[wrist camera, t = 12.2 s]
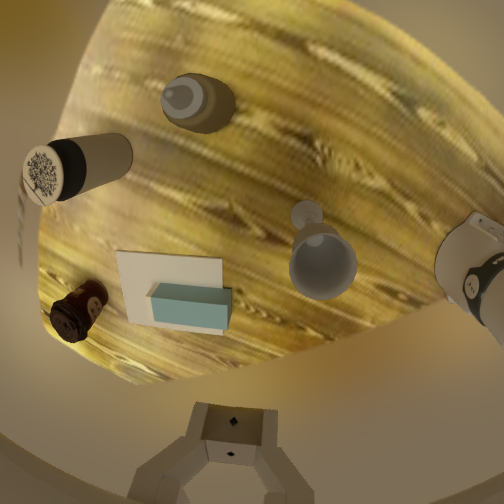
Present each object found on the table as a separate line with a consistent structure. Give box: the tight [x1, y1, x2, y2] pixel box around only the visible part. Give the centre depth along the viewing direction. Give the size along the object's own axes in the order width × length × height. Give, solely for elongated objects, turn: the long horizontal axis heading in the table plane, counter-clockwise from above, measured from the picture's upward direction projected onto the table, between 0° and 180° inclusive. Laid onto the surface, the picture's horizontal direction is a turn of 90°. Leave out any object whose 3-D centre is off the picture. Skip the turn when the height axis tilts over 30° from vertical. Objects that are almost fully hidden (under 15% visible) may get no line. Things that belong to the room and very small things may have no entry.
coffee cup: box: [50, 279, 108, 343], centre depth 48 cm, size 9×8×13 cm
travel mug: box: [23, 133, 132, 206], centre depth 34 cm, size 8×8×18 cm
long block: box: [145, 282, 232, 330], centre depth 49 cm, size 5×5×14 cm
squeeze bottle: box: [161, 73, 236, 134], centre depth 31 cm, size 8×8×18 cm
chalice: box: [289, 200, 357, 300], centre depth 36 cm, size 7×7×18 cm
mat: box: [115, 250, 224, 335], centre depth 52 cm, size 20×16×1 cm
